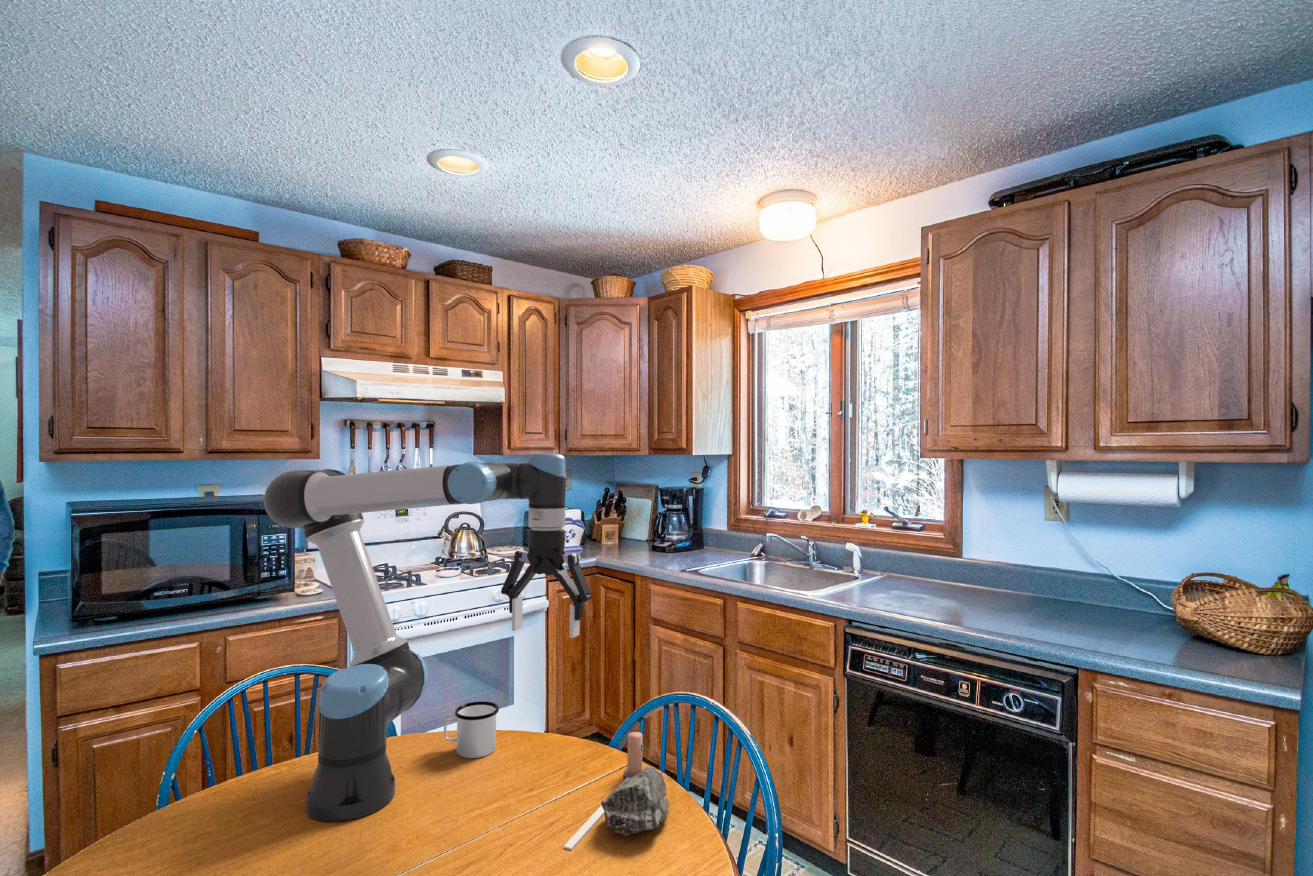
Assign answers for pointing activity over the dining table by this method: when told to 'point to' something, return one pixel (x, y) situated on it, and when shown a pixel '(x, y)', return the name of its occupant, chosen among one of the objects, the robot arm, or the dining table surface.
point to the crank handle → (631, 771)
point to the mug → (475, 729)
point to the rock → (637, 803)
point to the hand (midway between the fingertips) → (545, 632)
